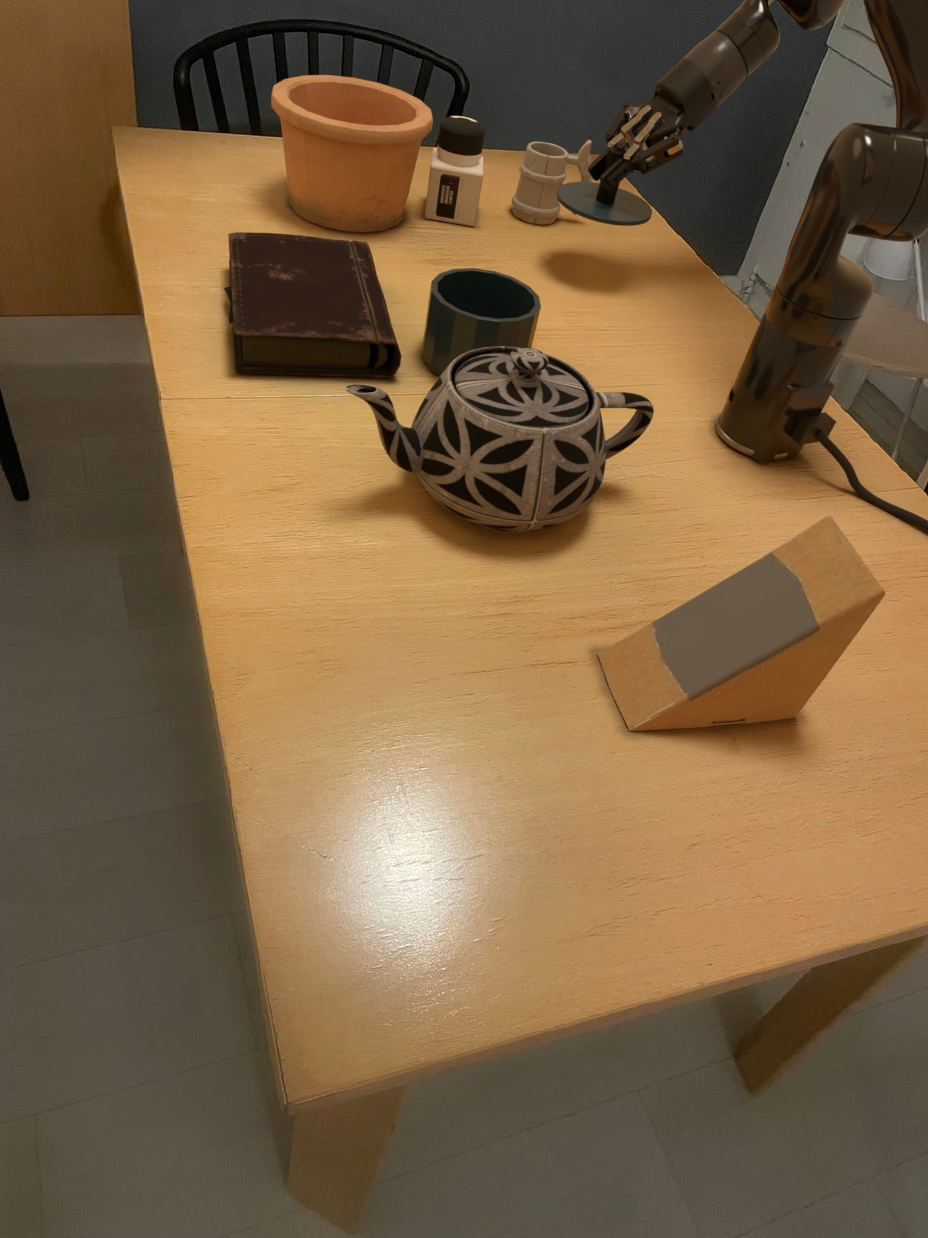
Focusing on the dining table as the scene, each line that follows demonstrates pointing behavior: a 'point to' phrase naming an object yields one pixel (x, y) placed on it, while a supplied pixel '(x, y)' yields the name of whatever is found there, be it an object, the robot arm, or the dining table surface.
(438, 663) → the dining table surface
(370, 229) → the pottery
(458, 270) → the pot
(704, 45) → the robot arm
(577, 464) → the teapot
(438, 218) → the container
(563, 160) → the mug
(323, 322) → the diary
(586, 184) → the lid
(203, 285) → the dining table surface
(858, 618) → the sandwich container
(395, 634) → the dining table surface
